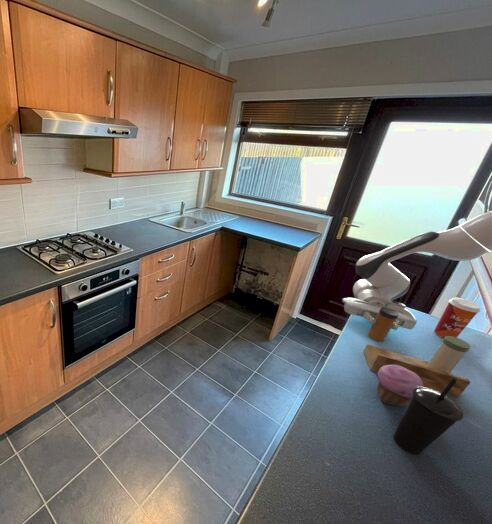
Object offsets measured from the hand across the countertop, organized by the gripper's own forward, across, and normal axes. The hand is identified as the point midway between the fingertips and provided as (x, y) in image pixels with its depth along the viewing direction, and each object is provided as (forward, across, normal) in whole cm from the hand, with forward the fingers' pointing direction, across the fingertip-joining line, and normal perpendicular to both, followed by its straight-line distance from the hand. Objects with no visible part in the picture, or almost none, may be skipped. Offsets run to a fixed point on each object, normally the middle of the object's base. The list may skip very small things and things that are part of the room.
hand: (384, 324), depth 94 cm
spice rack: (+15, +4, +6) cm, 16 cm away
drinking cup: (+42, -4, +6) cm, 43 cm away
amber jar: (-1, 0, +6) cm, 6 cm away
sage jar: (+14, +10, +3) cm, 18 cm away
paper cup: (-16, +24, +6) cm, 29 cm away
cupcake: (+29, -4, +6) cm, 30 cm away
